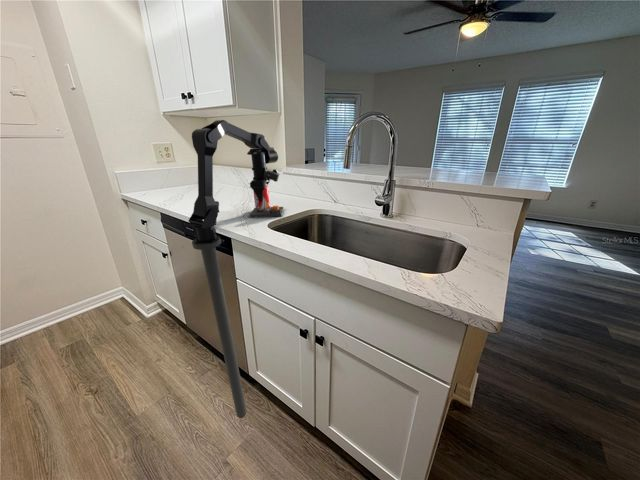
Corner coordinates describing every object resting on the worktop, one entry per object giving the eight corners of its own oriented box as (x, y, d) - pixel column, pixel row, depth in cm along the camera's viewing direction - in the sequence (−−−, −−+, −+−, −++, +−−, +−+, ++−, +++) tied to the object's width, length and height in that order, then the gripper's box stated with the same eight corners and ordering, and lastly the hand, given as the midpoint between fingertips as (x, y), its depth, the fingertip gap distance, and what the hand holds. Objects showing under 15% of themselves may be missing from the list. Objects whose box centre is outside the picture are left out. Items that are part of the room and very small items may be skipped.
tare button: (272, 210, 116) (272, 207, 116) (273, 208, 119) (273, 205, 118) (278, 210, 116) (278, 207, 116) (279, 208, 119) (279, 205, 118)
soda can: (269, 211, 119) (266, 185, 115) (254, 211, 119) (250, 185, 115) (272, 207, 126) (269, 182, 121) (257, 207, 126) (254, 182, 121)
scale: (249, 217, 116) (249, 211, 114) (255, 210, 127) (254, 204, 126) (282, 216, 116) (281, 210, 115) (284, 209, 127) (284, 203, 126)
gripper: (274, 166, 107) (277, 203, 113) (279, 162, 124) (281, 194, 130) (247, 167, 106) (252, 204, 112) (255, 162, 124) (259, 195, 130)
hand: (262, 199), depth 121 cm, fingers open, 8 cm apart
